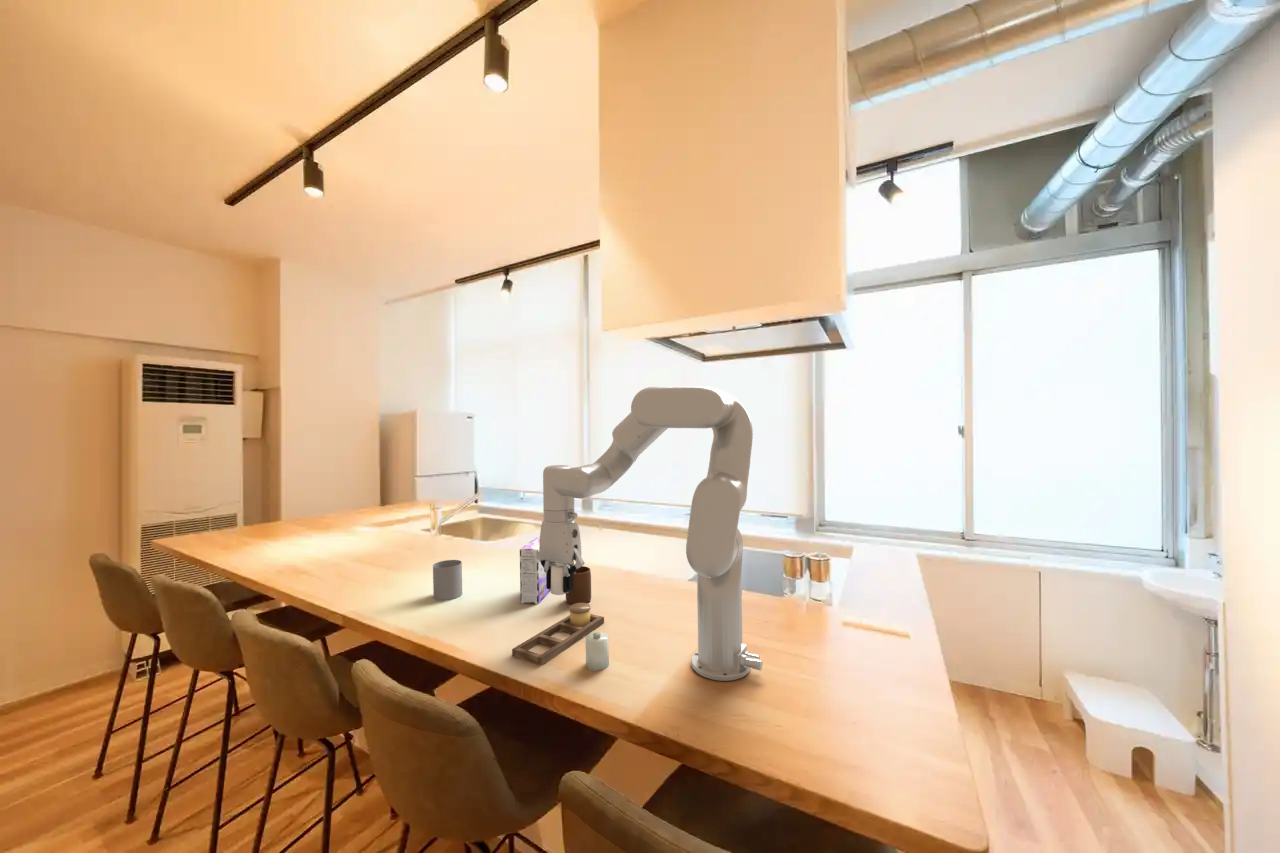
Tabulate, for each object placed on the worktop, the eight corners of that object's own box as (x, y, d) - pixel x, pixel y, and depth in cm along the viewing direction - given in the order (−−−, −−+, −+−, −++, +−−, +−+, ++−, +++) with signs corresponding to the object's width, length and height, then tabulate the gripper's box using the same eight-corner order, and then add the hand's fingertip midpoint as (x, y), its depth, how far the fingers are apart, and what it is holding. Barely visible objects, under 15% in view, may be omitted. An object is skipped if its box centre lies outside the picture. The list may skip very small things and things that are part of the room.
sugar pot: (613, 662, 103) (612, 631, 103) (600, 672, 99) (599, 641, 99) (594, 656, 106) (594, 627, 106) (581, 667, 101) (580, 635, 101)
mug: (569, 613, 130) (568, 580, 130) (549, 608, 134) (549, 575, 134) (596, 599, 140) (596, 568, 140) (577, 594, 144) (576, 564, 144)
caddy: (604, 622, 123) (604, 616, 123) (541, 665, 102) (541, 658, 102) (577, 616, 128) (577, 610, 128) (512, 655, 107) (512, 649, 107)
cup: (455, 600, 141) (454, 567, 141) (428, 601, 141) (427, 568, 141) (466, 590, 149) (465, 559, 149) (440, 591, 149) (440, 559, 149)
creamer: (572, 590, 116) (572, 564, 116) (560, 596, 112) (561, 569, 112) (554, 585, 119) (555, 560, 118) (542, 591, 115) (543, 565, 115)
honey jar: (594, 624, 123) (594, 604, 123) (582, 632, 118) (582, 612, 118) (578, 620, 125) (578, 601, 125) (565, 628, 121) (565, 608, 121)
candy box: (536, 587, 151) (535, 536, 151) (553, 587, 150) (552, 537, 150) (519, 603, 137) (518, 548, 137) (538, 604, 137) (537, 548, 136)
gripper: (596, 516, 114) (596, 590, 114) (543, 509, 122) (543, 579, 122) (577, 522, 107) (578, 600, 107) (522, 515, 116) (523, 588, 116)
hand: (559, 588), depth 115 cm, fingers closed on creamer, 4 cm apart
